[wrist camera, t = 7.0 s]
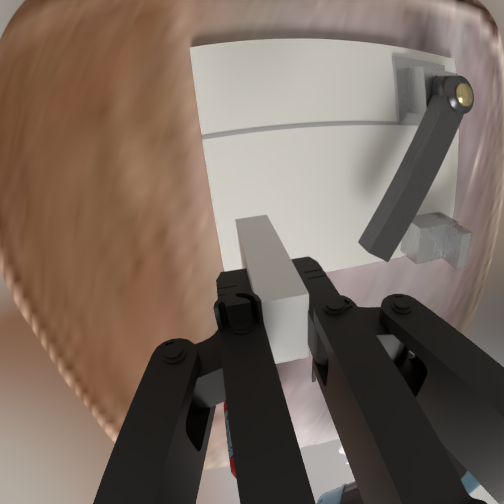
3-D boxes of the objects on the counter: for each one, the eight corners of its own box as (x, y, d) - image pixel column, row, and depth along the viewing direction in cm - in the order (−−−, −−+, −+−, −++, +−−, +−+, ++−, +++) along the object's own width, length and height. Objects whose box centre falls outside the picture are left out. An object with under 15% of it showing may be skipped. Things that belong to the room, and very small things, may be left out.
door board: (442, 242, 29) (448, 246, 28) (227, 283, 27) (227, 290, 26) (447, 59, 20) (455, 59, 19) (190, 50, 18) (189, 47, 17)
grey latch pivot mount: (445, 125, 22) (466, 130, 20) (396, 123, 22) (417, 126, 19) (441, 65, 19) (463, 64, 17) (391, 56, 19) (412, 52, 16)
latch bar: (439, 68, 17) (459, 67, 15) (461, 90, 18) (480, 92, 15) (353, 240, 22) (368, 254, 20) (380, 253, 23) (395, 267, 21)
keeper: (436, 242, 28) (467, 265, 23) (400, 250, 27) (430, 276, 23) (440, 211, 26) (474, 231, 22) (403, 217, 26) (436, 240, 21)
